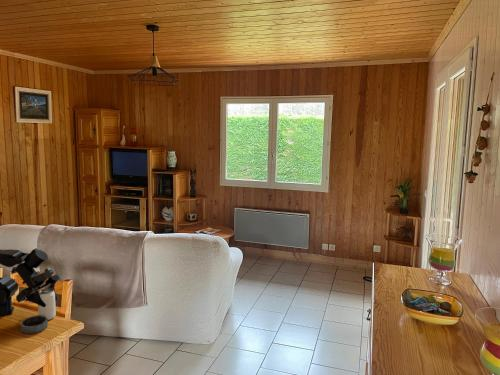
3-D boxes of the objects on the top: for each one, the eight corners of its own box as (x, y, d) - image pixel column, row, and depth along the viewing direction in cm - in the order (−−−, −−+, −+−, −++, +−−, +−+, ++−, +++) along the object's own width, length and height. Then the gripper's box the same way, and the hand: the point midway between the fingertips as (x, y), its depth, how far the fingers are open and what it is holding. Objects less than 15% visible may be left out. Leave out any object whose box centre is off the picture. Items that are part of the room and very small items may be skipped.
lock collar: (22, 324, 153) (22, 317, 153) (48, 320, 157) (48, 314, 157) (19, 335, 145) (19, 328, 145) (46, 331, 149) (46, 324, 148)
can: (48, 321, 156) (47, 295, 154) (35, 319, 157) (33, 293, 155) (59, 314, 162) (58, 288, 160) (46, 312, 164) (45, 286, 162)
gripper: (20, 271, 148) (43, 302, 147) (56, 257, 166) (77, 284, 165) (5, 287, 152) (28, 317, 150) (42, 271, 169) (63, 298, 168)
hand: (50, 303), depth 158 cm, fingers closed on can, 6 cm apart
